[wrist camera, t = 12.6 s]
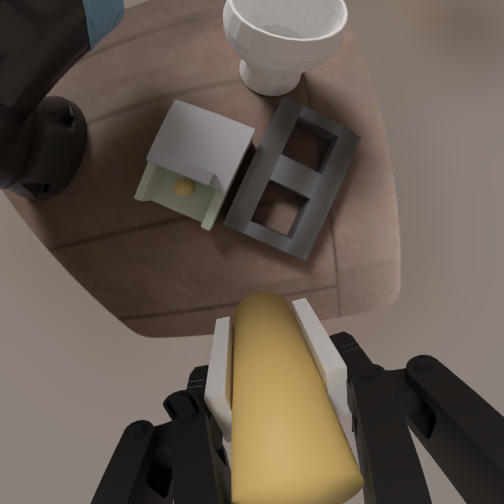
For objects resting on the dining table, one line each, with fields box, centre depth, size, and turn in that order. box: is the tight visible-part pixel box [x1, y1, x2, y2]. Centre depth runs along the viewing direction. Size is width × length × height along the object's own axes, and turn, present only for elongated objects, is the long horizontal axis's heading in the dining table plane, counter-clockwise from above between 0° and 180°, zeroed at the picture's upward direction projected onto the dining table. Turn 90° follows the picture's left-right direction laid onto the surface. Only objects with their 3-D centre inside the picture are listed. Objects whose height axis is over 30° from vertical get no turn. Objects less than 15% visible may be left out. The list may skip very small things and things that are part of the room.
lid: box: [146, 99, 255, 193], centre depth 24 cm, size 9×7×4 cm
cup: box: [223, 0, 348, 96], centre depth 21 cm, size 11×11×15 cm
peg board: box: [223, 96, 361, 261], centre depth 30 cm, size 10×16×3 cm, turn 156°
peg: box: [231, 292, 364, 504], centre depth 11 cm, size 4×4×12 cm
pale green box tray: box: [134, 134, 254, 231], centre depth 28 cm, size 9×11×4 cm
